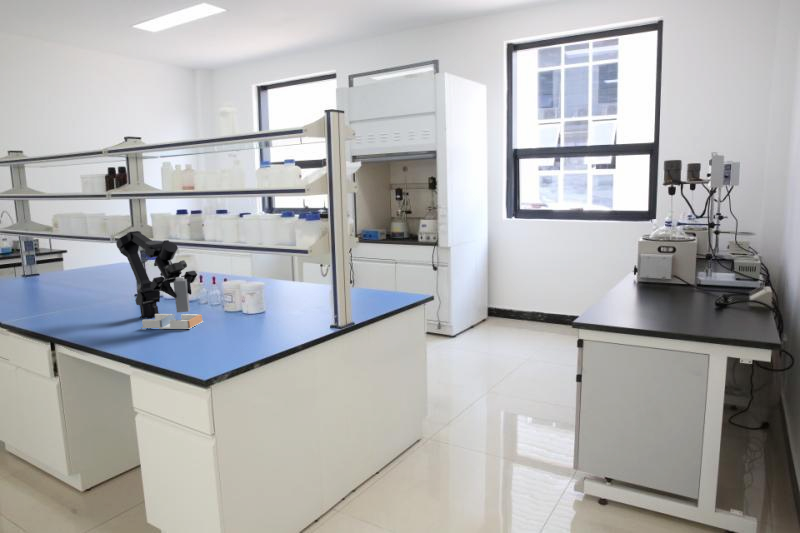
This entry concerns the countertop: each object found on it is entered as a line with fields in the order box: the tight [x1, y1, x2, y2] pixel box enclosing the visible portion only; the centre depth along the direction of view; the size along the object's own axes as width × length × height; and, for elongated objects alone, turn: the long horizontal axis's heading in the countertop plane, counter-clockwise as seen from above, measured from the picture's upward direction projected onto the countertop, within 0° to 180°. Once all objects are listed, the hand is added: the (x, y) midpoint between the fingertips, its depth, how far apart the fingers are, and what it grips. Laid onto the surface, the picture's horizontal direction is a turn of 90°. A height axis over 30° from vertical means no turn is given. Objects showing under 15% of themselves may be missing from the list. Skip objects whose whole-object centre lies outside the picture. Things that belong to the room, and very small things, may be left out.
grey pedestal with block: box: [172, 277, 191, 314], centre depth 221 cm, size 4×4×14 cm
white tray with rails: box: [140, 313, 204, 329], centre depth 224 cm, size 22×11×4 cm, turn 80°
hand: (183, 295), depth 220 cm, fingers closed on grey pedestal with block, 6 cm apart
